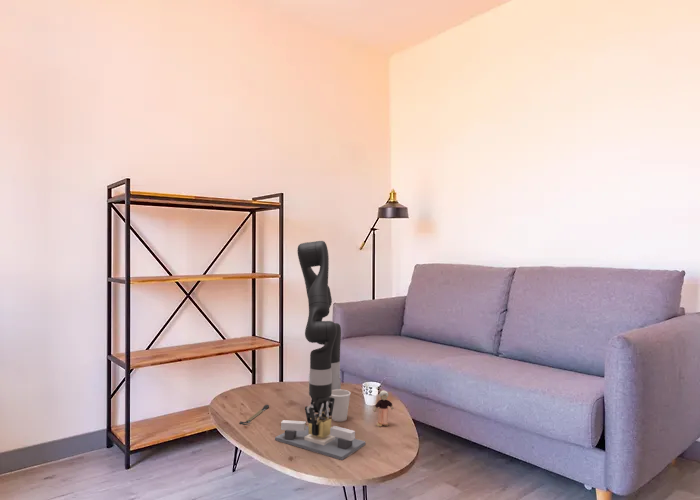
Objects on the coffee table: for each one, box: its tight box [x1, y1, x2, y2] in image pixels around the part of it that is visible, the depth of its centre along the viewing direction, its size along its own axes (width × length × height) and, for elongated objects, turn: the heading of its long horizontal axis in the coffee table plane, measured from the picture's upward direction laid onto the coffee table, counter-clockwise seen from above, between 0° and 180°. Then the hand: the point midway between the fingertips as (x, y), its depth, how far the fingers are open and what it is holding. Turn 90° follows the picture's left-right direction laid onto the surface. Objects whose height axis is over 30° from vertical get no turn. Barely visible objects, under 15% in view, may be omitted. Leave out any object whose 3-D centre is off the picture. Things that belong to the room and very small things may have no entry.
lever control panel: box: [274, 419, 366, 461], centre depth 156 cm, size 27×14×6 cm, turn 57°
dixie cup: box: [330, 388, 351, 422], centre depth 179 cm, size 8×8×10 cm
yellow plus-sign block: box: [308, 416, 332, 438], centre depth 156 cm, size 6×4×5 cm
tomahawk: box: [238, 404, 270, 426], centre depth 181 cm, size 21×7×1 cm, turn 163°
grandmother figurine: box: [373, 390, 394, 427], centre depth 173 cm, size 8×4×13 cm, turn 118°
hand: (319, 432), depth 156 cm, fingers closed on yellow plus-sign block, 4 cm apart
